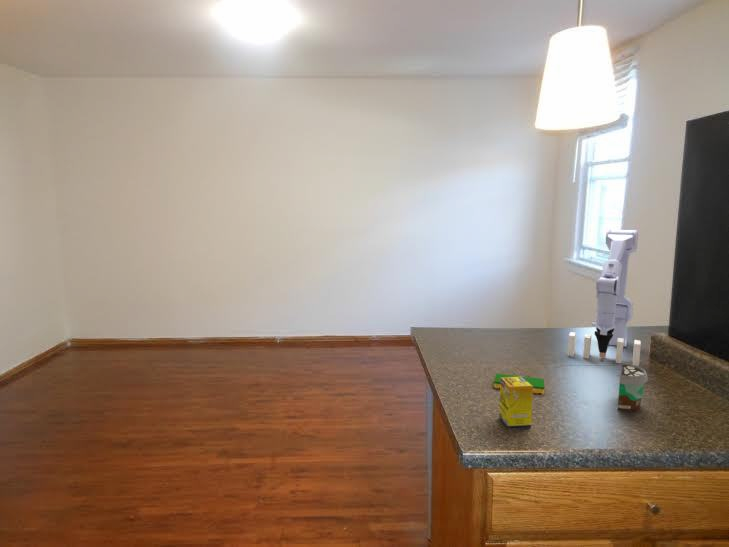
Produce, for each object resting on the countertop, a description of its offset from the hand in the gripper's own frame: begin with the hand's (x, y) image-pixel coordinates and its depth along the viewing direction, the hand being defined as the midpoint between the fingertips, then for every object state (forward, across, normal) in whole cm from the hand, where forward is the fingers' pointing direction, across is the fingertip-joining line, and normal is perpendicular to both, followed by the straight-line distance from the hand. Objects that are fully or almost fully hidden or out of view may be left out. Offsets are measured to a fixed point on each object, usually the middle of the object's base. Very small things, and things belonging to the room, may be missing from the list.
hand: (603, 350), depth 157 cm
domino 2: (+3, 0, -5) cm, 6 cm away
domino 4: (+3, 0, +5) cm, 6 cm away
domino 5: (+3, 0, +10) cm, 10 cm away
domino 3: (+2, 0, 0) cm, 2 cm away
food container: (+3, +38, +9) cm, 39 cm away
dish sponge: (+4, +39, -20) cm, 44 cm away
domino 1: (+3, 0, -10) cm, 10 cm away
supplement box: (+3, +63, -16) cm, 65 cm away
